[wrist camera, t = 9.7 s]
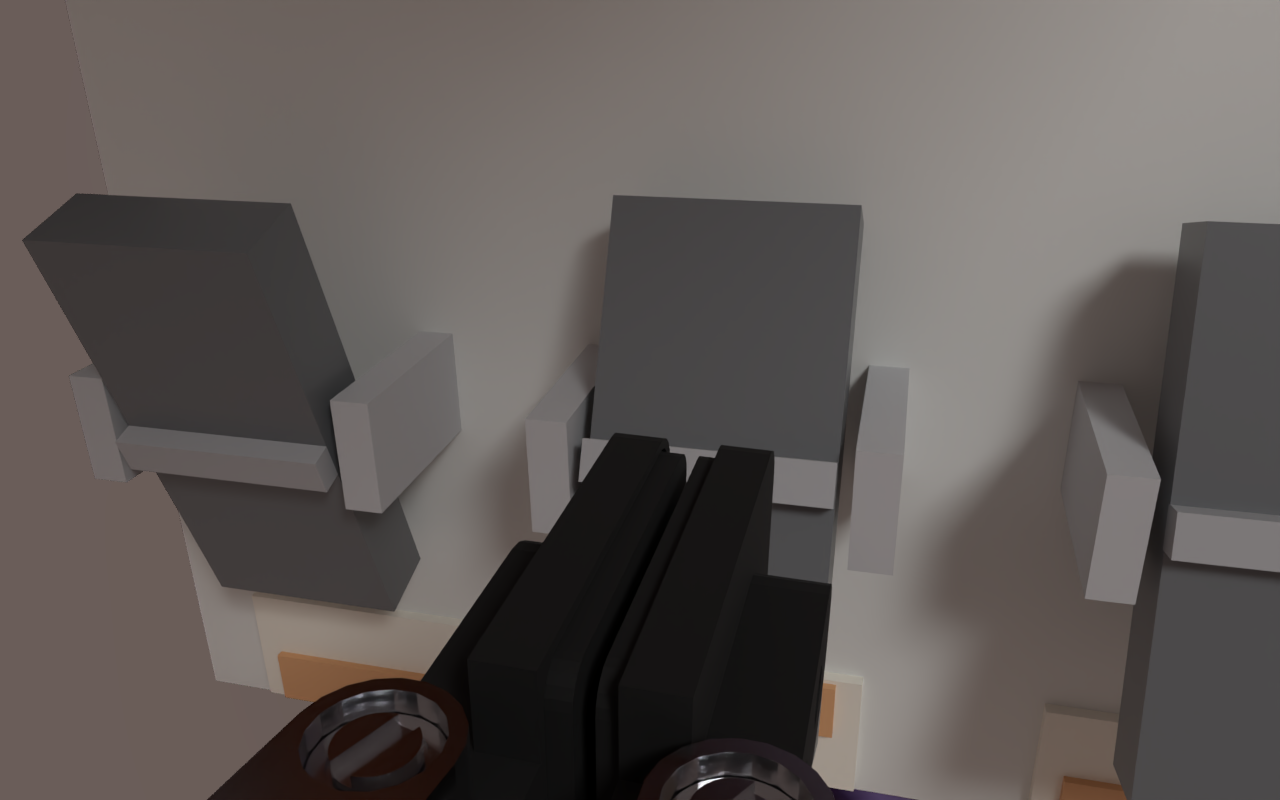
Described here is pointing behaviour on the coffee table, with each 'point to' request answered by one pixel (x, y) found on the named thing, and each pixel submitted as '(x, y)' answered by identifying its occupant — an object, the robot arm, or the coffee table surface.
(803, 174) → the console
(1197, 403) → the rocker
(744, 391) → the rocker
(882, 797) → the coffee table surface
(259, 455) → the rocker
